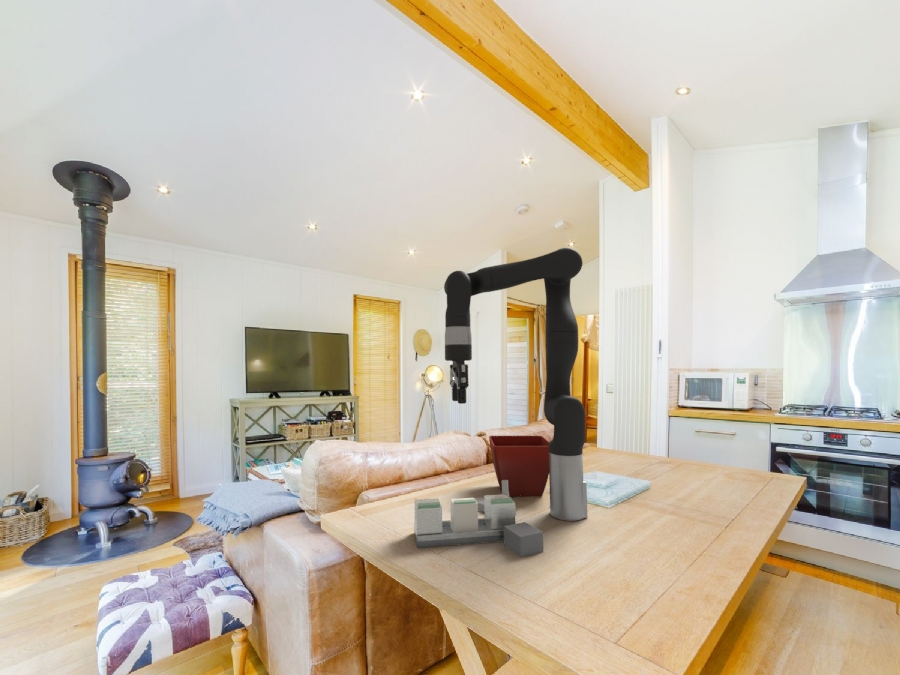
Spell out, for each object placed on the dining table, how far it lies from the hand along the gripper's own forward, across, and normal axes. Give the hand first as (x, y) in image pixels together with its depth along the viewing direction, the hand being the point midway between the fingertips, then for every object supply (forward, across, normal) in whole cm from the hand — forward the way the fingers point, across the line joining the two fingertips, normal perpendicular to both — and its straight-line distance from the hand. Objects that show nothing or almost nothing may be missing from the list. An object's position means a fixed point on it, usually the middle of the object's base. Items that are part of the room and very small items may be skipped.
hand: (458, 402), depth 117 cm
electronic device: (+32, +5, -11) cm, 35 cm away
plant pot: (+32, +22, -25) cm, 46 cm away
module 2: (+32, -20, -11) cm, 39 cm away
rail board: (+32, -11, +1) cm, 34 cm away
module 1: (+30, -11, +1) cm, 32 cm away
